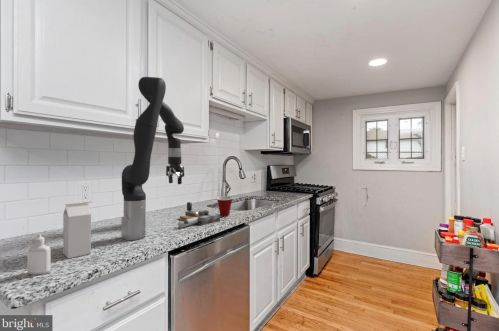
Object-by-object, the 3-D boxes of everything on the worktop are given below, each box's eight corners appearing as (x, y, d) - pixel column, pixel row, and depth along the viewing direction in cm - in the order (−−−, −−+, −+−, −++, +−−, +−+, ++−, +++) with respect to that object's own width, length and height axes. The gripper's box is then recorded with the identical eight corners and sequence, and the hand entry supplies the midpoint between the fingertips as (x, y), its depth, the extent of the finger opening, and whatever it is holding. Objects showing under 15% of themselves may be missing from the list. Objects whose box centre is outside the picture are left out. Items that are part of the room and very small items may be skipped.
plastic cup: (212, 216, 163) (213, 197, 163) (221, 213, 173) (221, 195, 173) (227, 217, 159) (228, 198, 159) (235, 214, 169) (235, 196, 169)
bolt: (195, 216, 151) (195, 204, 151) (185, 214, 157) (185, 202, 157) (199, 215, 153) (199, 203, 153) (189, 213, 159) (189, 201, 159)
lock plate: (202, 225, 139) (202, 214, 139) (178, 219, 152) (178, 209, 152) (220, 221, 150) (220, 210, 150) (196, 215, 163) (197, 206, 163)
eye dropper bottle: (36, 277, 75) (36, 237, 75) (25, 273, 78) (25, 234, 77) (52, 271, 79) (52, 233, 79) (41, 268, 82) (42, 231, 81)
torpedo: (182, 229, 130) (182, 216, 130) (175, 227, 133) (175, 215, 133) (205, 222, 146) (205, 211, 145) (199, 221, 148) (199, 210, 148)
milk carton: (90, 253, 95) (91, 203, 94) (68, 259, 89) (68, 205, 89) (85, 249, 99) (85, 201, 99) (62, 254, 94) (63, 203, 94)
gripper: (162, 156, 150) (162, 183, 150) (176, 156, 141) (177, 185, 141) (172, 156, 155) (173, 182, 156) (187, 156, 147) (188, 183, 147)
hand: (175, 183), depth 149 cm, fingers open, 8 cm apart
